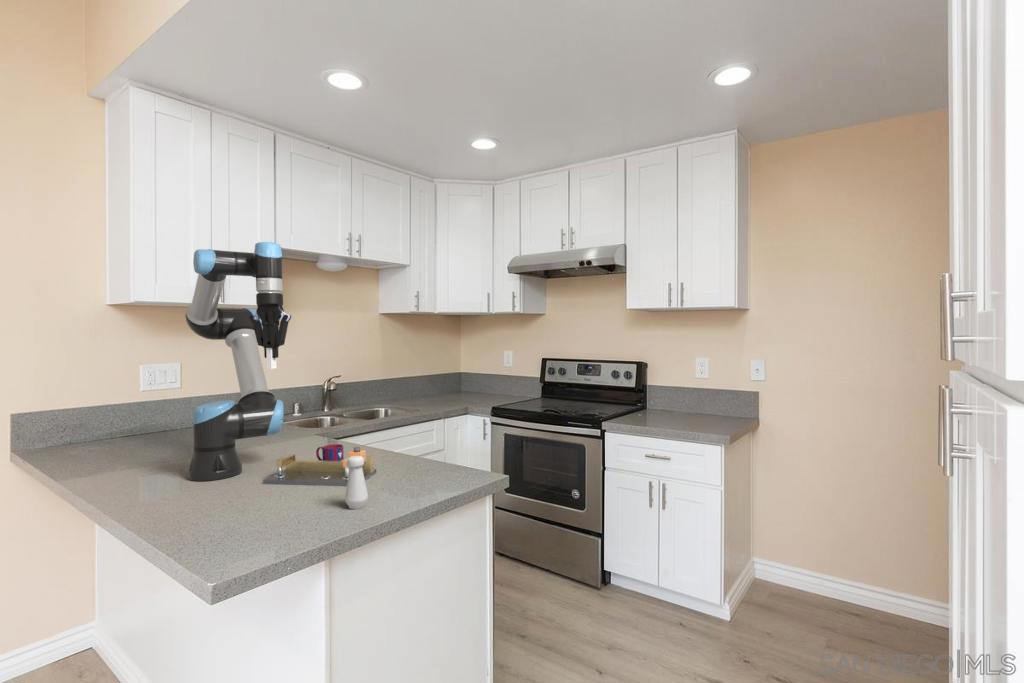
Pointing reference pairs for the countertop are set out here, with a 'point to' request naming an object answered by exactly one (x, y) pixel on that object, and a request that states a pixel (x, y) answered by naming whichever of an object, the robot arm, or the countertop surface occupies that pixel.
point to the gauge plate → (312, 478)
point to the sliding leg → (353, 453)
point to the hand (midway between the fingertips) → (271, 368)
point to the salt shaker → (356, 483)
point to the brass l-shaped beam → (318, 465)
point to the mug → (331, 453)
